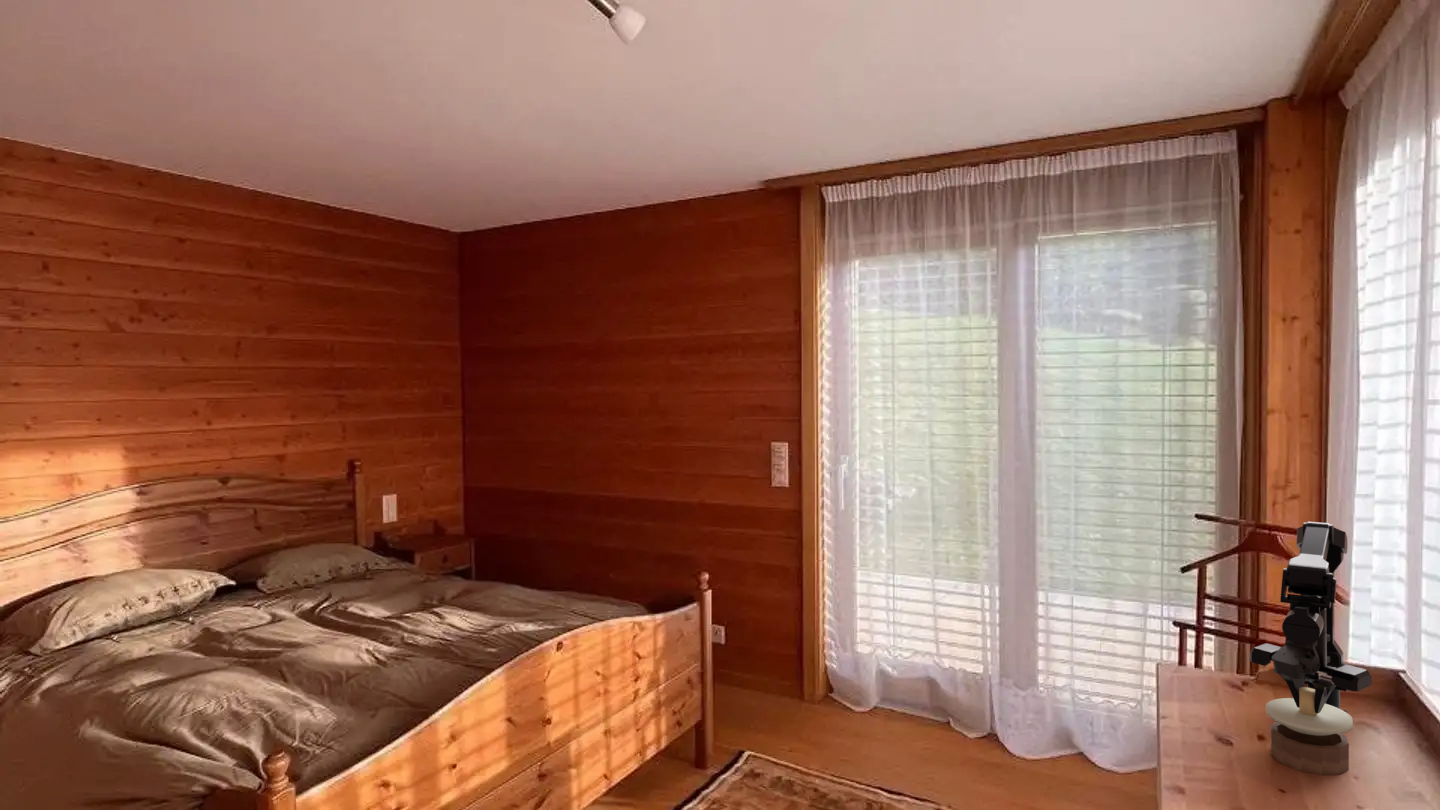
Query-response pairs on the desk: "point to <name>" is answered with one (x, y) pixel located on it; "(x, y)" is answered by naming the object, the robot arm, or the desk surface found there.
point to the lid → (1309, 715)
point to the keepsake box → (1310, 751)
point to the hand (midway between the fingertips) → (1308, 709)
